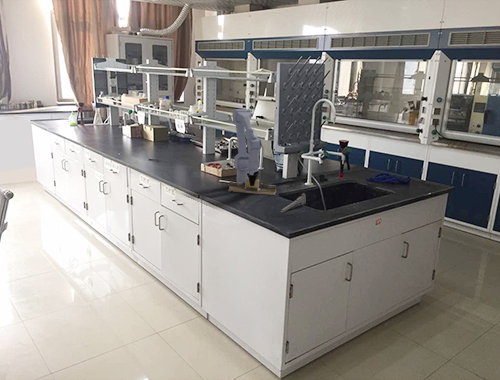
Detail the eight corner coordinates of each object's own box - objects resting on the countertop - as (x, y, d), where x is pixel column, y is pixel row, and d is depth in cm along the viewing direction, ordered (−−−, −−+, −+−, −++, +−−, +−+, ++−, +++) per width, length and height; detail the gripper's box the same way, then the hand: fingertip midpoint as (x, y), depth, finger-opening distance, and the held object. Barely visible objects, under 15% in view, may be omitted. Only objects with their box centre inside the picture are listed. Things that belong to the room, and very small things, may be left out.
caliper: (303, 204, 213) (304, 192, 212) (305, 204, 213) (306, 192, 211) (280, 212, 198) (280, 200, 197) (282, 213, 198) (282, 200, 196)
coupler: (246, 187, 234) (246, 178, 232) (258, 188, 233) (259, 179, 231) (245, 188, 230) (245, 180, 228) (257, 189, 229) (258, 181, 228)
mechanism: (230, 188, 237) (231, 179, 235) (276, 191, 233) (276, 182, 232) (228, 191, 230) (228, 182, 229) (274, 194, 227) (275, 186, 225)
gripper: (248, 158, 234) (247, 181, 238) (244, 163, 221) (243, 187, 224) (260, 158, 234) (259, 182, 237) (257, 163, 220) (256, 188, 223)
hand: (252, 184), depth 231 cm, fingers closed on coupler, 4 cm apart
